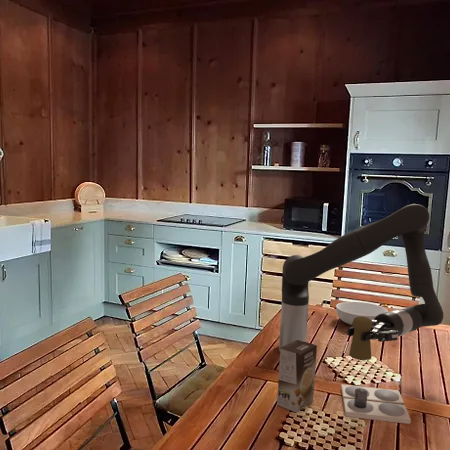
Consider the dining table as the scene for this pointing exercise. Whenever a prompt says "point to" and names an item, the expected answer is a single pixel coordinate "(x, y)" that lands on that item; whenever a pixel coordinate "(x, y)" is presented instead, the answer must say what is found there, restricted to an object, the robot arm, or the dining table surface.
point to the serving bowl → (358, 311)
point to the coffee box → (296, 375)
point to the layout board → (376, 404)
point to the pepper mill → (359, 347)
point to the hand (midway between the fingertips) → (355, 334)
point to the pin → (360, 398)
